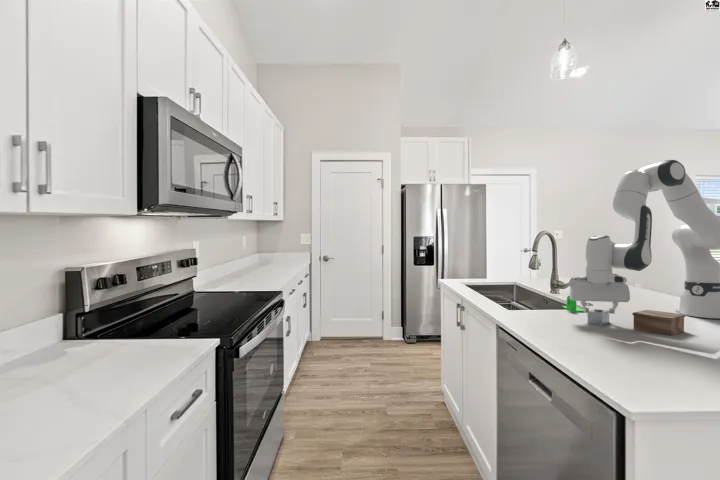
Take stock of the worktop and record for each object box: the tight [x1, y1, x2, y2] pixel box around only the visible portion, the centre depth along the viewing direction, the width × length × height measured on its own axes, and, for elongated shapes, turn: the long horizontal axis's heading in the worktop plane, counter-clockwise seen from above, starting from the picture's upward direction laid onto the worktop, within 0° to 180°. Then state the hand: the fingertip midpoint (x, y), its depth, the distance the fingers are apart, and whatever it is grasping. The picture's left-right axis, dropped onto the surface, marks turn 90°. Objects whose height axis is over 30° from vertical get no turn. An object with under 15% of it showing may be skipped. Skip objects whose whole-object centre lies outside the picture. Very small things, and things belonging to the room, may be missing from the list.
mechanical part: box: [561, 295, 585, 313], centre depth 182 cm, size 12×6×8 cm, turn 172°
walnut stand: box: [631, 309, 686, 337], centre depth 146 cm, size 12×12×6 cm
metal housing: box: [587, 308, 610, 326], centre depth 157 cm, size 8×5×5 cm, turn 132°
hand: (599, 312), depth 157 cm, fingers open, 7 cm apart
